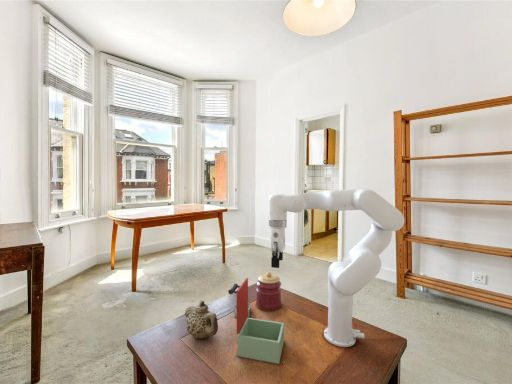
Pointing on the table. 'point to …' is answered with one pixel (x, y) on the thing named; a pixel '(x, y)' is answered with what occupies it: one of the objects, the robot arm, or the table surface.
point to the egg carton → (236, 309)
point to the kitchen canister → (268, 292)
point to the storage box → (261, 340)
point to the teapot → (201, 321)
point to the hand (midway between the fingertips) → (277, 263)
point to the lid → (241, 303)
